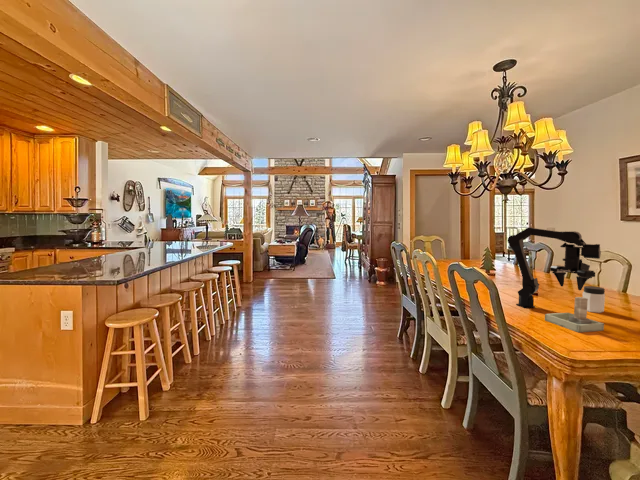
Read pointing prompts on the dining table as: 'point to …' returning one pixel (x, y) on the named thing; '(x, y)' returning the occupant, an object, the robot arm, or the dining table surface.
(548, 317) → the tray
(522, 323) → the dining table surface
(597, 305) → the jar
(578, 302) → the square pillar on base
